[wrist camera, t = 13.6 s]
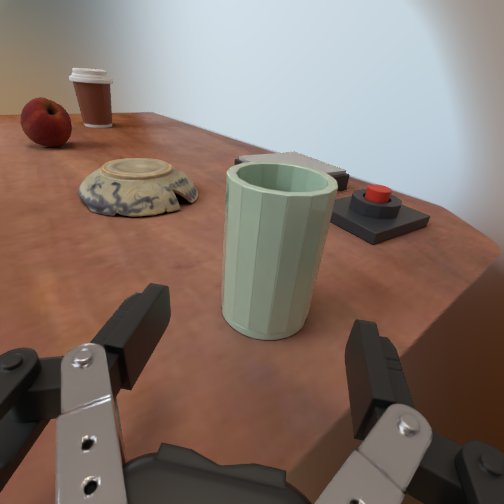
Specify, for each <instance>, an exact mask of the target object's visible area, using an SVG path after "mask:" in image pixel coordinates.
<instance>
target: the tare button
mask: <svg viewBox="0 0 504 504" xmlns="http://www.w3.org/2000/svg"><path fill="white" fill-rule="evenodd" d="M391 193H392V190H391V189H390V188H388V187H385V186H382V185H368V187H367V191H366V194H365V198H366V199H368V200H371V201H374V202H379V203H388V202H389V199H390V196H391Z"/></svg>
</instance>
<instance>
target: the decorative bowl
mask: <svg viewBox="0 0 504 504" xmlns="http://www.w3.org/2000/svg"><path fill="white" fill-rule="evenodd" d="M78 193H79V196H80V198H81V199H82V200H83V201H84V202H85V203H86V204H87V206H88V208H89V210H90V211H92V212H96V213H99V214H105V215H111V216H114V215H115V214H116V213H118V214H120V215H125V216H132V217H133V216H135V217H136V216H145V215H157V214H160V213H164V212H165V211H167V212H173V211H176V210H180V206H179V203H178V200H177V198H176V196H175V194H174V193H177V194H179V195H181V196H183V197H184V198H185V199H187V200H188V201H189V202H190V203H193V202H194V201H195V200H197V198H198V190H197V188H196V187H195V185H194V183H193V182H192V180H191V179H190V178H189V177H188V176H187V175H186V174H184V173H183V172H181V171H179V170H178V169H175V168H173V167H172V166H171V165H170V164H169V163H167V162H164V161H161V160H156V159H148V158H126V159H118V160H114V161H110V162H107V163H105V164H103V165H102V166H101V168H100V169H98V170H96V171H94V172H93V173H91V174H90V175H89V176H87V177H86V178H85V180H84V181H83V182H82V184H81V185H80V187H79V191H78Z"/></svg>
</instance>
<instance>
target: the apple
mask: <svg viewBox="0 0 504 504" xmlns="http://www.w3.org/2000/svg"><path fill="white" fill-rule="evenodd" d="M21 125H22V128H23V131H24V132H25V134H26V135H27V136H28V137H29V138H30V139H31V140H32V141H34V142H35V143H38V144H40V145H43V146H48V147H57V146H61V145H63V144H64V143H66V142H67V141H68V139H69V137H70V135H71V130H72V125H71V120H70V117H69V115H68V113H67V112H66V110H65V109H64V108H63V107H62V106H60V105H59V104H57V103H55V102H53V101H51V100H48V99H46V98H35V99H33V100H31V101H29V103H27V104H26V105H25V107H24V108H23V110H22V113H21Z"/></svg>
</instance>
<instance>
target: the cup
mask: <svg viewBox="0 0 504 504" xmlns="http://www.w3.org/2000/svg"><path fill="white" fill-rule="evenodd" d="M337 190H338V185H337V181H336V180H335V179H334V178H333V177H331V176H330V175H329V174H327V173H324V172H322V171H319V170H317V169H313V168H310V167H306V166H302V165H298V164H292V163H284V162H273V161H255V162H245V163H241V164H238V165H234V166H232V167H231V168H230V169H229V170H228V171H227V178H226V201H225V224H224V247H223V270H222V293H221V301H222V313H223V316H224V318H225V320H226V321H227V322H228V324H229V325H230V326H231V327H232V328H234V329H235V330H236V331H238V332H240V333H242V334H244V335H246V336H248V337H251V338H255V339H261V340H278V339H283V338H287V337H289V336H292V335H293V334H295V333H297V332H298V331H299V330H300V329H301V328H302V327H303V325H304V324H305V322H306V318H307V316H308V313H309V309H310V304H311V300H312V296H313V292H314V287H315V283H316V279H317V275H318V271H319V266H320V262H321V258H322V254H323V249H324V245H325V241H326V237H327V232H328V228H329V224H330V220H331V215H332V211H333V207H334V203H335V199H336V194H337Z"/></svg>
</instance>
